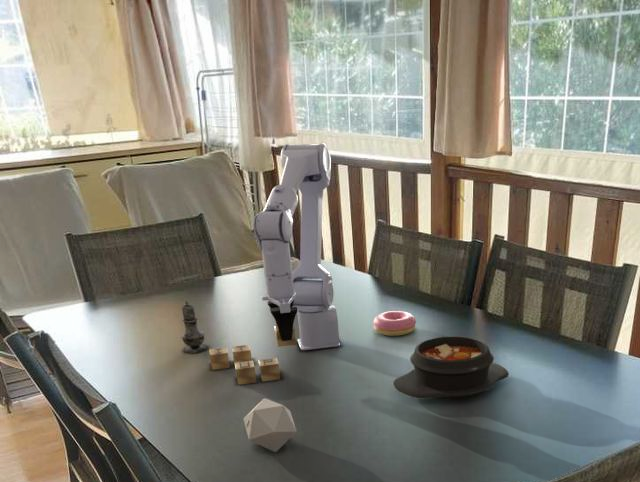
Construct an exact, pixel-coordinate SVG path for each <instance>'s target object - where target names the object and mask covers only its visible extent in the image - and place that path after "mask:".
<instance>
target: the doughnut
mask: <svg viewBox="0 0 640 482" xmlns="http://www.w3.org/2000/svg"><path fill="white" fill-rule="evenodd" d="M416 324H417V321H416V317H415V316H414V314H411V313H410V312H407V311H404V310H403V311H402V310H391V311H385V312H382V313H379V314H377V315H376V316H375V318H374V319H373V323H372V326H373V328H374V330H375V332H376V333H378V334H379V335H382V336H388V337H397V336H405V335H407V334H410V333H411V332H413V331H414V329H416Z"/></svg>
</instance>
